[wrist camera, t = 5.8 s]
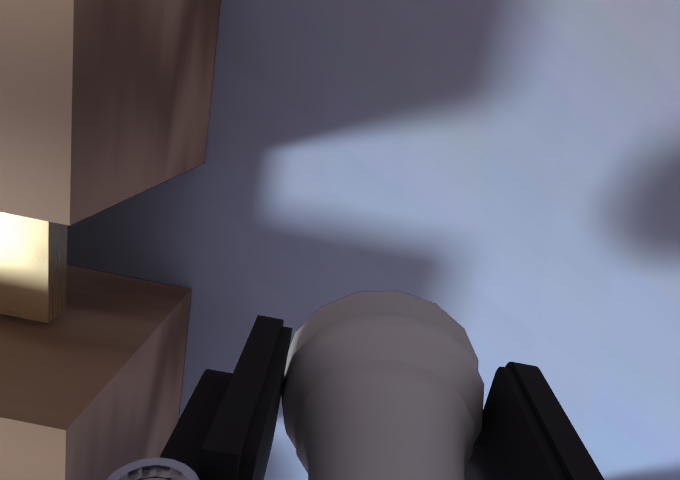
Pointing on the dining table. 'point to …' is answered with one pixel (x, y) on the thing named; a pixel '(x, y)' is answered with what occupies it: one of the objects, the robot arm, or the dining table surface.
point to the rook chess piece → (382, 391)
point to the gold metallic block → (32, 268)
